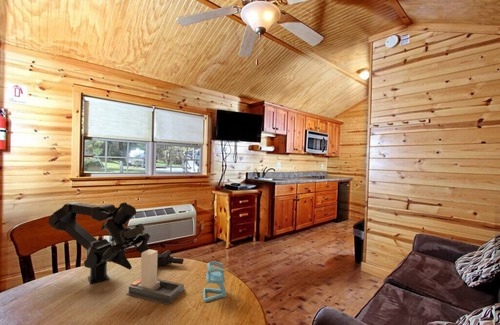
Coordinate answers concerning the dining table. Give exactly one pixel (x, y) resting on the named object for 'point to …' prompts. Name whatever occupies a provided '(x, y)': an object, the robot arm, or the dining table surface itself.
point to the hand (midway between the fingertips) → (140, 263)
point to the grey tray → (157, 291)
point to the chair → (215, 280)
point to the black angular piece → (168, 259)
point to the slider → (149, 270)
